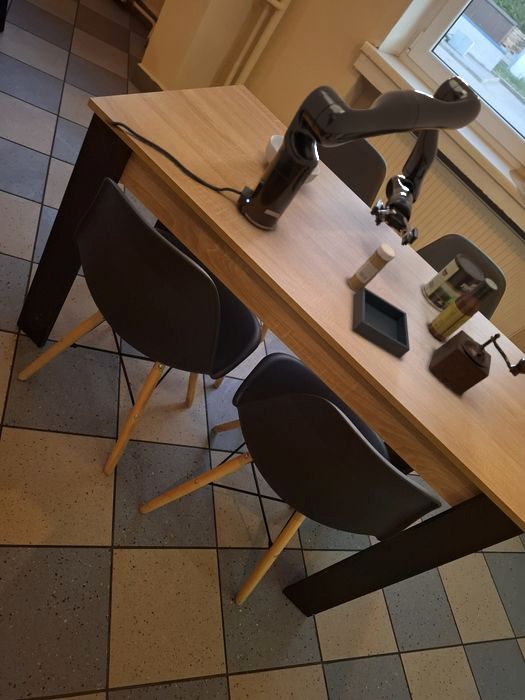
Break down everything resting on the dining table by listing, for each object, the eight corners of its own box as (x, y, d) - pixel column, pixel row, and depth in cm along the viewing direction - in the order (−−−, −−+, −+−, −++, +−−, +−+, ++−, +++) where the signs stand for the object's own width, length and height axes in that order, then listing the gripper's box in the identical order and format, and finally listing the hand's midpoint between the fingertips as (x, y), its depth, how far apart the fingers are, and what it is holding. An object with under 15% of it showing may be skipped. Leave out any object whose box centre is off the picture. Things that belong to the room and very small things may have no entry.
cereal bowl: (314, 187, 152) (328, 168, 147) (292, 199, 139) (306, 179, 135) (274, 150, 153) (286, 130, 148) (248, 158, 140) (261, 137, 135)
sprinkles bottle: (364, 292, 129) (399, 256, 120) (353, 293, 126) (389, 256, 117) (354, 278, 130) (388, 242, 122) (344, 279, 127) (378, 242, 119)
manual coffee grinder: (427, 371, 122) (485, 326, 110) (434, 349, 130) (489, 306, 119) (474, 412, 122) (537, 373, 110) (478, 388, 130) (537, 349, 119)
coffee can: (453, 313, 150) (490, 282, 141) (433, 311, 144) (471, 279, 135) (435, 287, 155) (470, 255, 146) (416, 284, 148) (451, 251, 139)
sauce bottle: (444, 332, 139) (502, 286, 127) (444, 345, 135) (504, 298, 122) (426, 319, 138) (482, 271, 126) (426, 331, 134) (484, 283, 121)
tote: (352, 330, 115) (362, 321, 113) (353, 294, 125) (362, 285, 123) (399, 358, 119) (409, 350, 116) (397, 321, 129) (406, 313, 126)
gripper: (387, 183, 137) (380, 205, 125) (426, 214, 139) (423, 238, 127) (369, 204, 142) (361, 227, 130) (408, 234, 144) (403, 259, 132)
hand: (392, 232), depth 128 cm, fingers open, 8 cm apart
